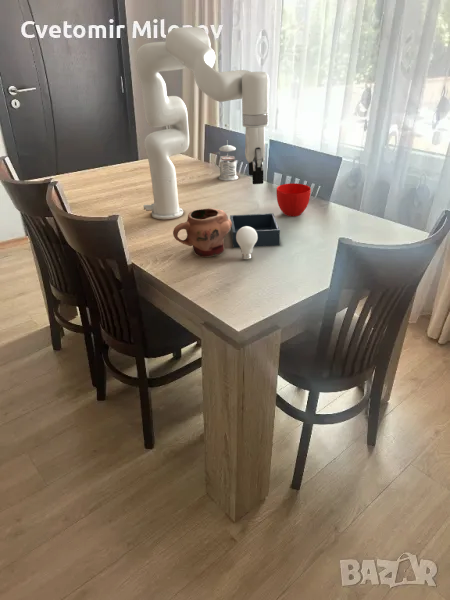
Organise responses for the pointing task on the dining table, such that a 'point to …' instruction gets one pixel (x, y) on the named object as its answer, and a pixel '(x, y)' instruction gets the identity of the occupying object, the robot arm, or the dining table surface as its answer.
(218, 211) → the brown clay mug
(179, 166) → the dining table surface
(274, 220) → the tote
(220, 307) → the dining table surface
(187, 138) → the robot arm
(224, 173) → the french press
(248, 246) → the light bulb
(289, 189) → the ceramic cup
